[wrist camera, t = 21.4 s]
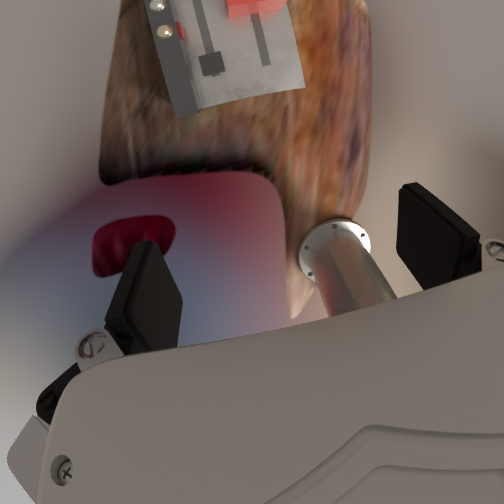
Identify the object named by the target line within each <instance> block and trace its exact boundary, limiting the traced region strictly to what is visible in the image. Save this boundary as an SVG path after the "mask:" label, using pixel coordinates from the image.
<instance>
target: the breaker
mask: <svg viewBox="0 0 504 504" xmlns="http://www.w3.org/2000/svg"><path fill="white" fill-rule="evenodd" d="M198 58H199V62H200V66H201V69H202V73H203V76H209V75H213V74H217V73H221V72H225V71H226V70H225V66H224V62H223V59H222V55H221V51H218V52H214V53H210V54H206V55H202V56H198Z"/></svg>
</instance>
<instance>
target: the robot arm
mask: <svg viewBox="0 0 504 504" xmlns="http://www.w3.org/2000/svg"><path fill="white" fill-rule="evenodd" d="M479 239H480V234H479V233H478V232H477V231H476V230H475V229H473V228H472V227H471V226H470V225H469V224H468V223H467V222H466V221H464V220H463V219H462V218H461V217H460V216H459V215H458V214H456V213H455V212H454V211H453V210H452V209H450V208H449V207H448V206H447V205H445V204H444V203H443V202H442V201H441V200H439V199H438V198H437V197H436V196H434V195H433V194H432V193H431V192H429V191H428V190H427V189H425V188H424V187H423V186H421V185H420V184H419V183H417V182H415V183H409V184H404V185H403V186H402V189H400V190H399V205H398V227H397V242H396V250H397V253H398V255H399V257H400V258H401V259H402V261H403V262H404V264H405V265H406V266H407V268H408V269H409V270H410V272H411V273H412V274H413V276H414V277H415V279H416V280H417V281H418V283H419V284H420V286H421V287H422V289H423V291H420V292H417V293H414V294H411V295H408V296H405V297H401V298H397V296H396V294H395V293H394V291H393V289H392V288H391V286H390V285H389V283H388V281H387V280H386V278H385V277H384V275H383V273H382V272H381V271H380V269H379V267H378V266H377V264H376V263H375V261H374V259H373V258H372V257H371V255H370V247H371V246H370V239H369V236H368V234H367V233H366V231H365V230H364V228H363V227H362V226H361V225H359V224H358V223H356V222H354V221H352V220H349V219H332V220H328V221H326V222H323V223H321V224H319V225H317V226H316V227H315V228H313V229H312V230H311V231H310V232H309V233H308V234H307V235H306V236H305V238H304V239H303V241H302V243H301V245H300V248H299V252H298V261H299V265H300V267H301V270H302V272H303V273H304V275H305V276H306V277H307V278H309V279H310V280H312V281H314V282H316V284H317V286H318V289H319V291H320V294H321V297H322V300H323V303H324V305H325V308H326V311H327V314H328V318H324V319H320V320H316V321H312V322H308V323H303V324H299V325H295V326H290V327H286V328H281V329H276V330H271V331H266V332H262V333H256V334H252V335H246V336H241V337H236V338H230V339H225V340H219V341H213V342H207V343H202V344H196V345H189V346H182V347H177V343H178V335H179V327H180V319H181V312H182V304H183V302H182V296H181V294H180V292H179V290H178V288H177V286H176V283H175V282H174V279H173V277H172V275H171V273H170V271H169V269H168V266H167V264H166V262H165V260H164V258H163V255H162V253H161V251H160V249H159V246H158V244H157V243H156V242H154V243H153V242H152V241H151V240H147V241H143V242H139V243H136V244H135V245H134V248H133V250H132V252H131V254H130V257H129V259H128V261H127V264H126V266H125V268H124V271H123V273H122V276H121V278H120V281H119V283H118V285H117V288H116V291H115V293H114V296H113V298H112V301H111V303H110V306H109V309H108V311H107V314H106V317H105V322H106V324H105V327H104V329H103V328H96V329H92V330H90V331H88V332H87V333H85V334H84V335H83V336H82V337H81V338H80V339H79V341H78V342H77V344H76V346H75V350H74V355H75V359H76V361H77V362H76V363H75V364H74V365H72V366H71V367H70V368H69V369H68V370H67V371H65V372H64V373H63V374H62V375H61V376H60V377H58V378H57V379H56V380H55V381H54V382H53V383H51V384H50V385H49V386H48V387H47V388H46V389H45V390H44V391H43V392H42V393H41V394H40V396H39V398H38V400H37V404H36V411H37V414H38V415H37V417H35V416H34V415H32V417H31V418H30V420H29V421H28V423H27V424H26V426H25V427H24V428H23V430H22V431H21V433H20V434H19V436H18V437H17V439H16V441H15V442H14V443H13V445H12V446H11V448H10V450H9V452H8V457H7V462H8V466H9V468H10V470H11V471H12V473H13V474H14V476H15V477H16V479H17V480H18V481H19V483H20V484H21V485H22V487H23V488H24V490H25V491H26V492H27V493H28V495H29V496H30V497H31V498H32V500H33V501H34V502H35V504H504V241H501V240H498V239H488V240H486V241H484V242H483V243H482V245H481V244H480V243H479Z"/></svg>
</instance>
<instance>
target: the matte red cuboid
mask: <svg viewBox="0 0 504 504" xmlns="http://www.w3.org/2000/svg"><path fill="white" fill-rule="evenodd" d="M287 1H288V0H224V3H225V6H226V10H227V14H228V18H232V17H238V16H243V15H249V14H255V13H261V12H268V11H276V10H280V9H281V8H282V7H283V6H284V4H285V3H286V2H287Z"/></svg>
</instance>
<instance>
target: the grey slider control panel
mask: <svg viewBox="0 0 504 504" xmlns="http://www.w3.org/2000/svg"><path fill="white" fill-rule="evenodd" d="M144 2H145V6H146V10H147V14H148V18H149V22H150V26H151V30H152V34H153V38H154V41H155V45H156V49H157V53H158V56H159V60H160V64H161V67H162V71H163V75H164V78H165V82H166V85H167V89H168V93H169V96H170V100H171V103H172V106H173V110H174V113H175V117H176V119H179V118H183V117H186V116H190V115H193V114H197V113H199V112H200V111H201V110H202V108H206V107H209V106H213V105H217V104H221V103H225V102H230V101H234V100H238V99H243V98H248V97H252V96H257V95H262V94H268V93H273V92H279V91H285V90H291V89H298V88H305V83H304V78H303V73H302V68H301V63H300V58H299V54H298V49H297V45H296V40H295V36H294V32H293V27H292V23H291V19H290V15H289V11H288V7H287V3H285V4H284V6H283V7H282V8H281V9H280V10H276V11H268V12H261V13H255V14H249V15H243V16H238V17H232V18H228V14H227V10H226V6H225V3H224V0H144ZM218 51H221V55H222V59H223V62H224V66H225V70H226V71H225V72H221V73H217V74H213V75H209V76H203V73H202V69H201V66H200V62H199V58H198V56H202V55H206V54H210V53H214V52H218Z"/></svg>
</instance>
